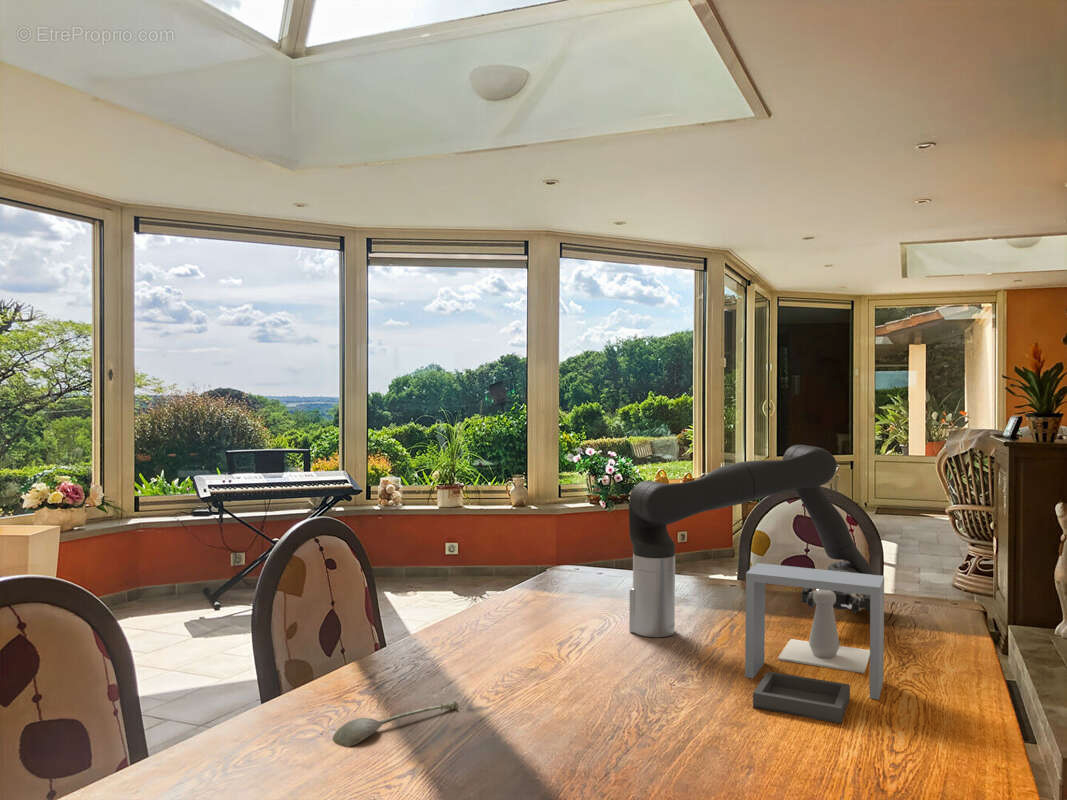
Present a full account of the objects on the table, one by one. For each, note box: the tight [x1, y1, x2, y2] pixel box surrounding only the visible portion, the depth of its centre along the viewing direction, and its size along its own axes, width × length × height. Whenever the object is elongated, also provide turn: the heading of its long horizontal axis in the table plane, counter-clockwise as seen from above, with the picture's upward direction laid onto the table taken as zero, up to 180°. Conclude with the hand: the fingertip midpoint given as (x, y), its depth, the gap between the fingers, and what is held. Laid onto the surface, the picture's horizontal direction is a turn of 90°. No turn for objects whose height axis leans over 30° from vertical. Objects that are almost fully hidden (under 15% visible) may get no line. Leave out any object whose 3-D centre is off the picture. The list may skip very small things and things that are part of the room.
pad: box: [777, 638, 870, 674], centre depth 162 cm, size 16×14×1 cm
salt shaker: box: [808, 589, 841, 658], centre depth 162 cm, size 6×6×13 cm
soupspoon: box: [332, 700, 459, 748], centre depth 128 cm, size 22×3×7 cm
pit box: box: [752, 671, 851, 725], centre depth 138 cm, size 14×12×2 cm
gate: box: [744, 562, 885, 700], centre depth 149 cm, size 23×10×20 cm, turn 62°
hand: (832, 605), depth 170 cm, fingers open, 8 cm apart
